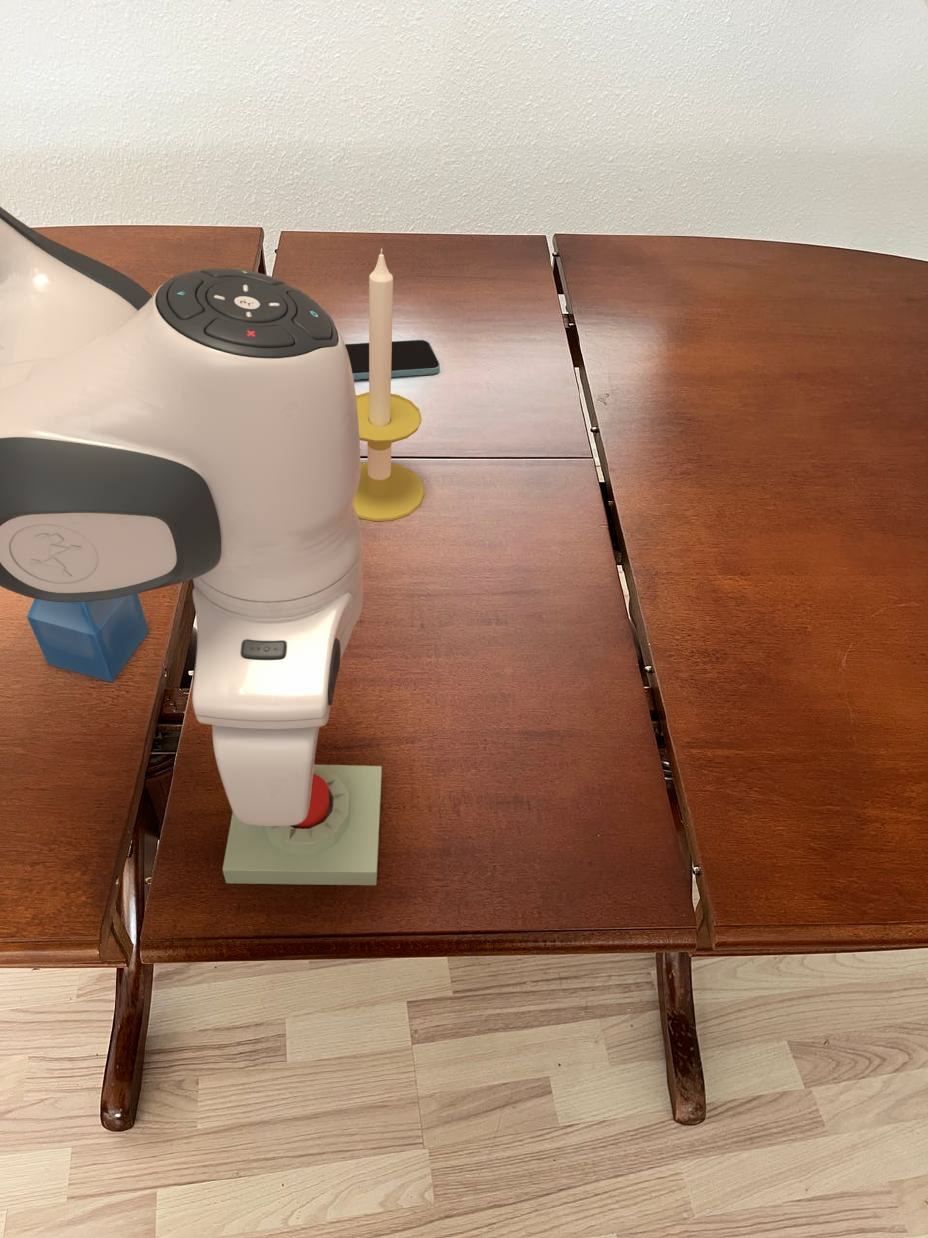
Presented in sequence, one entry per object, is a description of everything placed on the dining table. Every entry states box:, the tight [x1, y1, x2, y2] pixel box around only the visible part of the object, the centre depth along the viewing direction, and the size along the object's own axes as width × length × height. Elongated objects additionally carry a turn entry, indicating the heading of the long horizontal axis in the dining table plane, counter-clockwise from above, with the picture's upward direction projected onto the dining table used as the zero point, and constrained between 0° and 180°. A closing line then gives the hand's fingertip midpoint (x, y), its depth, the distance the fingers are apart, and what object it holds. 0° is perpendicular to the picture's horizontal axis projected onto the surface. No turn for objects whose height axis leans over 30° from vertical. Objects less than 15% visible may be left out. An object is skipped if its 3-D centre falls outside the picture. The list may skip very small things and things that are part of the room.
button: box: [294, 774, 330, 827], centre depth 63 cm, size 4×4×2 cm
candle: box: [353, 247, 426, 522], centre depth 84 cm, size 10×10×27 cm
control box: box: [222, 764, 383, 886], centre depth 65 cm, size 11×9×4 cm
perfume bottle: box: [26, 593, 150, 683], centre depth 72 cm, size 6×6×12 cm
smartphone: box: [344, 339, 441, 380], centre depth 111 cm, size 7×1×15 cm
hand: (298, 728), depth 56 cm, fingers closed
